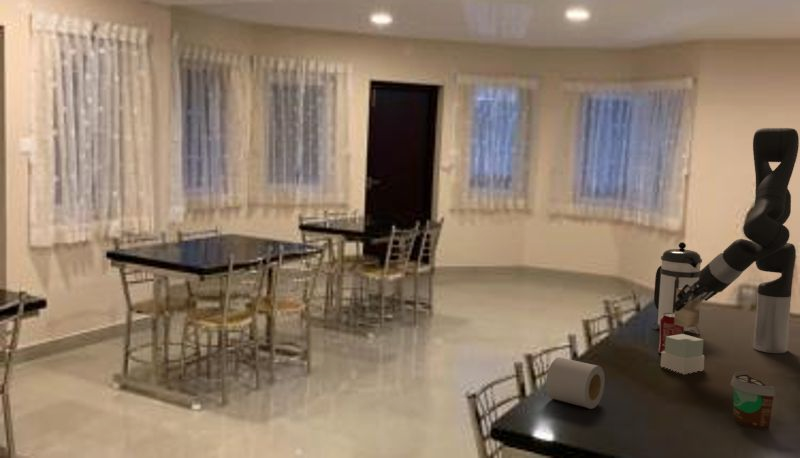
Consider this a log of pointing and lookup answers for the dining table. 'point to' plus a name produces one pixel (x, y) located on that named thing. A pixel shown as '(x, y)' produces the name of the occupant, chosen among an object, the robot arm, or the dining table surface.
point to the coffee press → (675, 278)
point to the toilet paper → (575, 382)
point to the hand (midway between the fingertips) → (681, 307)
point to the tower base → (682, 363)
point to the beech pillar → (687, 313)
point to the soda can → (668, 329)
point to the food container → (752, 401)
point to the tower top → (684, 346)
